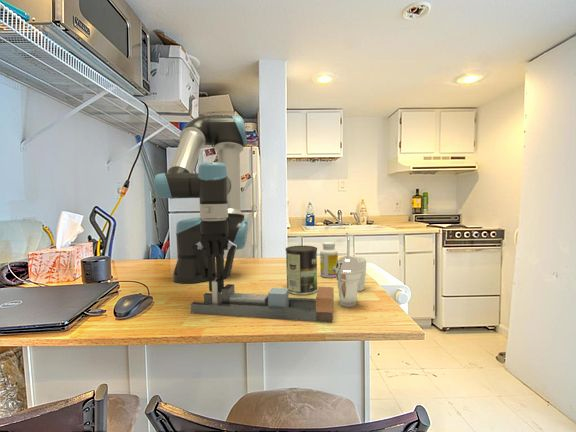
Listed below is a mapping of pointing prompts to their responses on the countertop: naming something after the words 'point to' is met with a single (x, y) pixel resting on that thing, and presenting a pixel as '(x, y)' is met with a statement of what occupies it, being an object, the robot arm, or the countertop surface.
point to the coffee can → (301, 269)
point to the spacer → (278, 297)
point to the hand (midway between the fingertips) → (217, 302)
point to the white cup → (362, 275)
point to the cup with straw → (347, 277)
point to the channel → (275, 308)
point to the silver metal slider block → (242, 297)
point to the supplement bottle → (328, 260)
